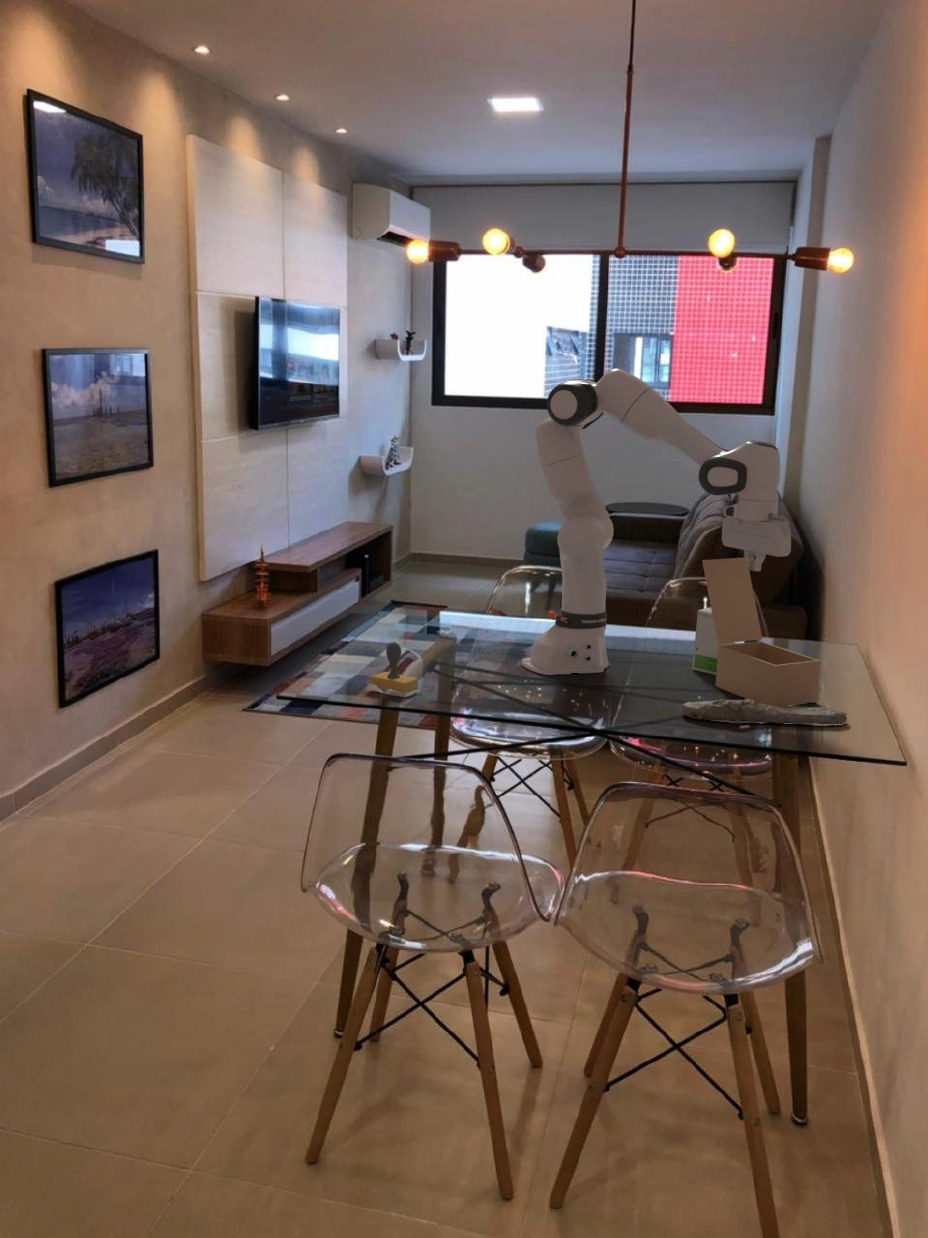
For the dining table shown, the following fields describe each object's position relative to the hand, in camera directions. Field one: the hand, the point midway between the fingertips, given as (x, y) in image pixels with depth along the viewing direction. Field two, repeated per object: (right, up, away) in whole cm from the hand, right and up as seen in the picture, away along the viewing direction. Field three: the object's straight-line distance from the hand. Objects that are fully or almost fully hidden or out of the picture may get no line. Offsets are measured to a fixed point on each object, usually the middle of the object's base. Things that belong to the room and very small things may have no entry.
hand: (753, 570), depth 251 cm
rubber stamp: (-84, -29, -4) cm, 89 cm away
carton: (+3, -29, 0) cm, 29 cm away
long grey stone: (-3, -34, -20) cm, 39 cm away
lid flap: (-3, -7, +7) cm, 11 cm away
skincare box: (-5, -25, +20) cm, 32 cm away
